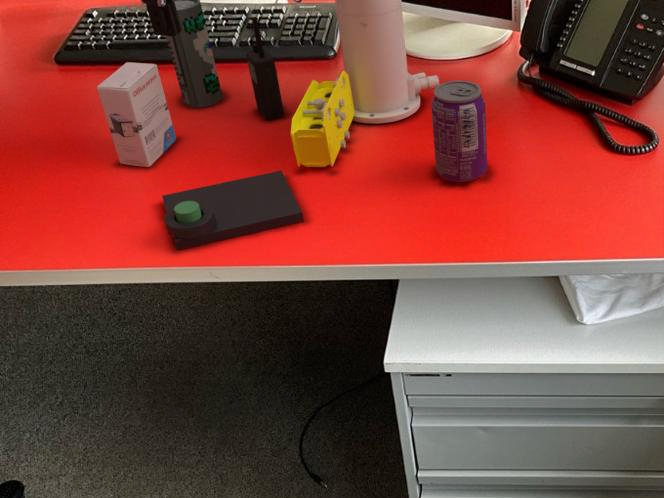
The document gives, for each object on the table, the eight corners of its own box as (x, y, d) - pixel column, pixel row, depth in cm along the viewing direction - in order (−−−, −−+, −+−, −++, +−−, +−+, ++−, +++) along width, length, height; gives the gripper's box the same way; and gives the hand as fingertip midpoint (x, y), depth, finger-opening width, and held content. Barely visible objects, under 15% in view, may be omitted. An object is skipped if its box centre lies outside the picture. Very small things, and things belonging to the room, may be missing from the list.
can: (225, 103, 142) (202, 7, 132) (185, 110, 140) (159, 13, 130) (220, 88, 146) (197, -6, 136) (181, 94, 144) (156, -1, 134)
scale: (283, 179, 123) (279, 159, 121) (305, 223, 115) (301, 202, 113) (161, 205, 119) (155, 185, 117) (174, 253, 110) (167, 232, 108)
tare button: (199, 209, 113) (196, 198, 112) (203, 221, 111) (200, 210, 110) (175, 214, 112) (172, 204, 111) (179, 226, 110) (175, 215, 109)
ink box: (148, 137, 133) (125, 60, 126) (179, 140, 133) (158, 62, 125) (119, 165, 127) (92, 86, 119) (151, 168, 126) (127, 88, 119)
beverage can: (494, 164, 125) (492, 82, 117) (477, 189, 120) (473, 105, 112) (447, 157, 127) (442, 76, 119) (428, 181, 122) (421, 98, 114)
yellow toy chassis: (336, 171, 124) (326, 115, 119) (296, 171, 125) (284, 116, 119) (358, 118, 136) (350, 65, 130) (322, 118, 137) (312, 65, 131)
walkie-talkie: (256, 110, 140) (236, 12, 130) (277, 105, 141) (258, 8, 131) (267, 122, 136) (246, 23, 126) (288, 116, 138) (269, 18, 128)
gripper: (132, -140, 110) (173, 10, 123) (57, -107, 100) (110, 54, 112) (185, -138, 109) (222, 14, 121) (115, -105, 98) (163, 58, 110)
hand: (168, 33), depth 116 cm, fingers closed
